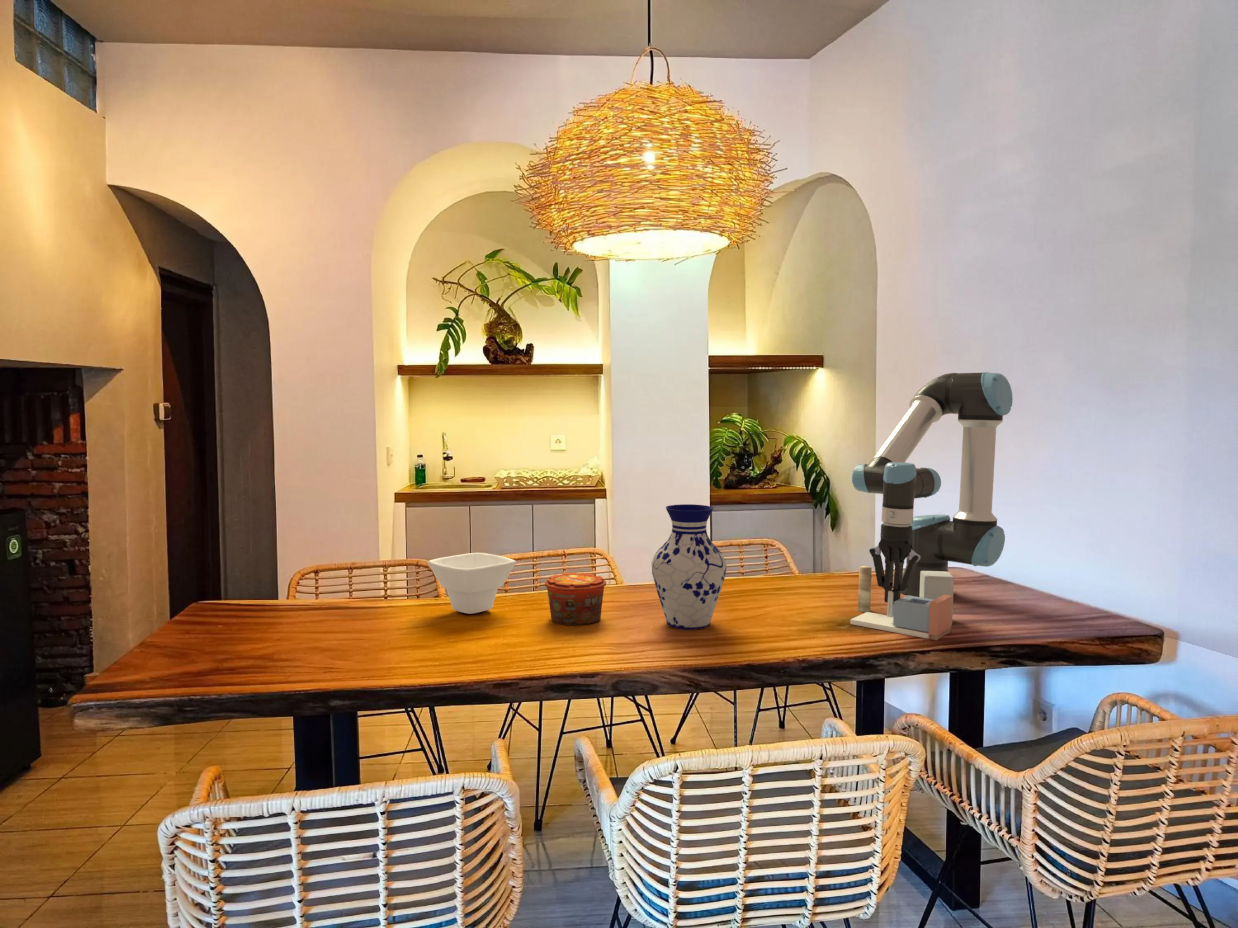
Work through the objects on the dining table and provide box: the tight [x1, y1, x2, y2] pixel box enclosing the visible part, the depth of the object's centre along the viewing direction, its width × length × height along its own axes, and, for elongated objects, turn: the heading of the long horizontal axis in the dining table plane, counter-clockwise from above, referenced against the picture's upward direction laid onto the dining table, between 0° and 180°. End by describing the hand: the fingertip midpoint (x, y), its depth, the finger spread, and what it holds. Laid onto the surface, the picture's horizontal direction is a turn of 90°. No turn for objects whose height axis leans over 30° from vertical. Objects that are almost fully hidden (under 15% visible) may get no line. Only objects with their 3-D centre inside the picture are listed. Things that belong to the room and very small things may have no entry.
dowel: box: [857, 565, 873, 613], centre depth 233 cm, size 3×3×12 cm
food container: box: [544, 572, 607, 626], centre depth 223 cm, size 16×16×11 cm
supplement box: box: [920, 571, 955, 626], centre depth 223 cm, size 7×7×13 cm
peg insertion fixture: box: [850, 595, 953, 641], centre depth 216 cm, size 10×22×9 cm, turn 50°
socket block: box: [893, 594, 934, 632], centre depth 213 cm, size 9×9×6 cm
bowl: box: [427, 552, 517, 615], centre depth 230 cm, size 19×19×14 cm
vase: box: [651, 503, 727, 630], centre depth 218 cm, size 19×19×30 cm
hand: (891, 615), depth 218 cm, fingers closed
